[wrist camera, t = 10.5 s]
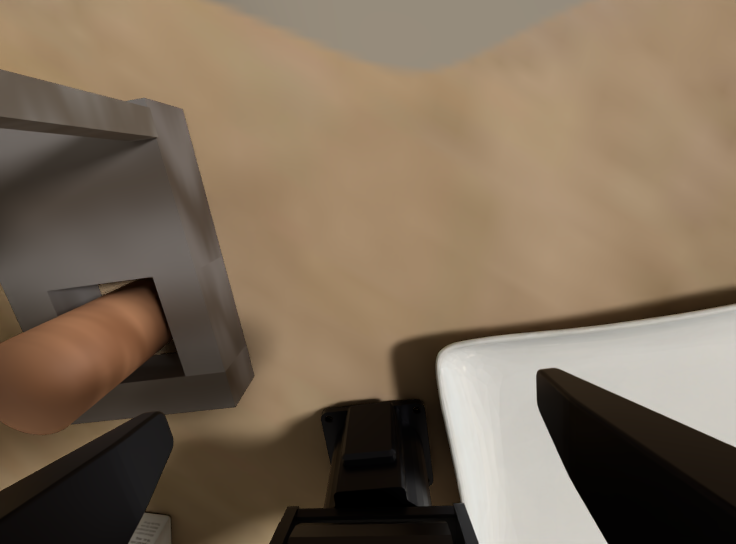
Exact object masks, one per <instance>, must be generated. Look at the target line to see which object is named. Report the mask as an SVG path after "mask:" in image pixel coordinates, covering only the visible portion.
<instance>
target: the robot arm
mask: <svg viewBox="0 0 736 544" xmlns="http://www.w3.org/2000/svg"><path fill="white" fill-rule="evenodd" d="M536 396H537V406H538V409H539V412H540V414H541V417H542V419H543V421H544V423H545V425H546V428H547V430H548V432H549V434H550V436H551V439H552V441H553V443H554V445H555V448H556V450H557V452H558V454H559V456H560V459H561V461H562V463H563V465H564V467H565V470H566V472H567V474H568V476H569V478H570V479H571V481H572V483H573V485H574V487H575V489H576V490H577V492H578V494H579V495H580V497H581V499H582V501H583V502H584V504H585V506H586V507H587V509H588V511H589V513H590V514H591V516H592V518H593V519H594V521H595V523H596V525H597V526H598V528H599V530H600V532H601V533H602V535H603V537H604V538H605V540H606V542H607V544H736V447H734V446H732V445H730V444H727V443H725V442H723V441H721V440H718V439H716V438H714V437H712V436H709V435H707V434H705V433H703V432H700V431H698V430H696V429H694V428H691V427H689V426H687V425H685V424H682V423H680V422H678V421H676V420H673V419H671V418H669V417H667V416H664V415H662V414H660V413H658V412H655V411H653V410H651V409H649V408H646V407H644V406H642V405H640V404H637V403H635V402H633V401H630V400H628V399H626V398H624V397H621V396H619V395H617V394H615V393H612V392H610V391H608V390H606V389H603V388H601V387H599V386H597V385H594V384H592V383H590V382H588V381H585V380H583V379H581V378H579V377H576V376H574V375H572V374H570V373H567V372H565V371H563V370H561V369H558V368H546V369H539V370H538V371H537V374H536ZM414 407H419V409H417V410H415V409H413V408H414ZM326 416H331V417H332V418H328V417H326ZM321 422H322V426H323V431H324V436H325V440H326V445H327V449H328V454H329V458H330V463H331V469H330V475H329V481H328V487H327V493H326V499H325V504H324V508H306V509H299V506H290V507H287V509H286V511H285V513H284V515H283V518H282V520H281V522H279V524H278V526H277V528H276V531H275V533H274V535H273V537H272V539H271V541H270V543H269V544H479V542H478V539H477V537H476V534H475V531H474V529H473V526H472V523H471V520H470V518H469V515H468V512H467V509H466V507H465V504H464V503H453V506H432V504H431V497H430V490H429V486H430V485H432V483H433V473H432V465H431V456H430V448H429V440H428V431H427V423H426V415H425V407H424V404H423V402H422V401H421V400H418V399H414V400H404V401H394V402H381V403H371V404H361V405H352V406H346V407H336V408H328V409H325V410H324V411H323V412H322V416H321ZM172 448H173V436H172V433H171V430H170V428H169V425H168V422H167V419H166V417H165V415H164V413H163V412H161V411H153V412H145V413H142V414H140V415H138V416H137V417H135V418H133V419H131V420H129V421H127V422H126V423H124V424H122V425H120V426H118V427H116V428H115V429H113V430H111V431H109V432H107V433H106V434H104V435H102V436H100V437H98V438H96V439H95V440H93V441H91V442H89V443H87V444H85V445H84V446H82V447H80V448H78V449H76V450H75V451H73V452H71V453H69V454H67V455H65V456H64V457H62V458H60V459H58V460H56V461H55V462H53V463H51V464H49V465H47V466H45V467H44V468H42V469H40V470H38V471H36V472H34V473H33V474H31V475H29V476H27V477H25V478H24V479H22V480H20V481H18V482H16V483H14V484H13V485H11V486H9V487H7V488H5V489H3V490H2V491H0V544H128V543H129V541H130V539H131V538H132V536H133V534H134V532H135V530H136V528H137V526H138V524H139V522H140V520H141V519H142V517H143V515H144V513H145V510H146V508H147V506H148V504H149V502H150V499H151V497H152V495H153V492H154V490H155V488H156V485H157V483H158V481H159V478H160V476H161V474H162V471H163V469H164V467H165V465H166V462H167V460H168V458H169V455H170V453H171V451H172Z"/></svg>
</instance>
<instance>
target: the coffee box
mask: <svg viewBox="0 0 736 544" xmlns="http://www.w3.org/2000/svg"><path fill="white" fill-rule="evenodd" d="M128 544H171V520H170V517H169V516H167V515H160V514H152V513H144V515H143V517H142V519H141V520H140V522H139V524H138V526H137V528H136V530H135V532H134V534H133V536H132V538H131V539H130V541H129V543H128Z"/></svg>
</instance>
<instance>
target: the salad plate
mask: <svg viewBox="0 0 736 544" xmlns="http://www.w3.org/2000/svg"><path fill="white" fill-rule="evenodd" d="M546 368H558V369H561V370H563V371H565V372H567V373H570V374H572V375H574V376H576V377H579V378H581V379H583V380H585V381H588V382H590V383H592V384H594V385H597V386H599V387H601V388H603V389H606V390H608V391H610V392H612V393H615V394H617V395H619V396H621V397H624V398H626V399H628V400H630V401H633V402H635V403H637V404H640V405H642V406H644V407H646V408H649V409H651V410H653V411H655V412H658V413H660V414H662V415H664V416H667V417H669V418H671V419H673V420H676V421H678V422H680V423H682V424H685V425H687V426H689V427H691V428H694V429H696V430H698V431H700V432H703V433H705V434H707V435H709V436H712V437H714V438H716V439H718V440H721V441H723V442H725V443H727V444H730V445H732V446H734V447H736V304H730V305H725V306H720V307H714V308H709V309H703V310H698V311H692V312H686V313H680V314H673V315H667V316H661V317H654V318H647V319H640V320H633V321H626V322H619V323H612V324H606V325H597V326H588V327H579V328H570V329H560V330H548V331H537V332H527V333H517V334H507V335H497V336H489V337H483V338H476V339H470V340H465V341H460V342H454V343H452V344H449V345H447V346H445V347H444V348H443V349H441V351H440V352H439V353H438V355H437V359H436V380H437V386H438V392H439V399H440V405H441V410H442V414H443V418H444V423H445V429H446V433H447V437H448V442H449V446H450V451H451V456H452V461H453V465H454V470H455V475H456V480H457V485H458V490H459V495H460V500H461V503H464V504H465V507H466V509H467V512H468V515H469V518H470V520H471V523H472V526H473V529H474V531H475V534H476V537H477V539H478V542H479V544H607V542H606V540H605V538H604V537H603V535H602V533H601V532H600V530H599V528H598V526H597V525H596V523H595V521H594V519H593V518H592V516H591V514H590V513H589V511H588V509H587V507H586V506H585V504H584V502H583V501H582V499H581V497H580V495H579V494H578V492H577V490H576V489H575V487H574V485H573V483H572V481H571V479H570V478H569V476H568V474H567V472H566V470H565V467H564V465H563V463H562V461H561V459H560V456H559V454H558V452H557V450H556V448H555V445H554V443H553V441H552V439H551V436H550V434H549V432H548V430H547V428H546V425H545V423H544V421H543V419H542V417H541V414H540V412H539V409H538V406H537V396H536V374H537V371H538V370H539V369H546Z"/></svg>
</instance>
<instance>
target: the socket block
mask: <svg viewBox="0 0 736 544" xmlns="http://www.w3.org/2000/svg"><path fill="white" fill-rule="evenodd" d="M147 277H153V280H154V283H155V286H156V289H157V292H158V295H159V298H160V301H161V304H162V307H163V310H164V313H165V316H166V319H167V322H168V325H169V328H170V331H171V334H172V337H173V340H174V343H175V346H176V349H177V352H178V353H170V354H162V355H154V356H152V357H151V358H150V359H148V360H147V361H146V362H145V363H144V364H142V365H141V366H140V367H139V368H138V369H136V370H135V371H134V372H133V373H132V374H130V375H129V376H128V377H127V378H126V379H124V380H123V381H122V382H121V383H120V384H118V385H117V386H116V387H115V388H114V389H112V390H111V391H110V392H109V393H108V394H106V395H105V396H104V397H103V398H102V399H100V400H99V401H98V402H97V403H96V404H94V405H93V406H92V407H91V408H90V409H88V410H87V411H86V412H85V413H84V414H82V415H81V416H80V417H79V418H78V419H76V420H75V421H74V422H73V423H72V424H80V423H89V422H99V421H108V420H118V419H127V418H135V417H137V416H138V415H140V414H142V413H145V412H153V411H161V412H163V413H164V415H165V414H175V413H184V412H194V411H203V410H213V409H223V408H232V407H236V406H237V404H238V402H239V401H240V399H241V397H242V396H243V394H244V392H245V391H246V389H247V388H248V386H249V384H250V383H251V381H252V379H253V378H254V372H253V368H252V365H251V361H250V357H249V354H248V350H247V346H246V343H245V339H244V335H243V331H242V328H241V324H240V320H239V317H238V313H237V309H236V305H235V302H234V298H233V294H232V291H231V287H230V283H229V279H228V276H227V272H226V268H225V265H224V261H223V257H222V253H221V250H220V246H219V242H218V239H217V235H216V231H215V227H214V224H213V220H212V216H211V213H210V209H209V205H208V201H207V198H206V194H205V190H204V187H203V183H202V179H201V175H200V172H199V168H198V164H197V161H196V157H195V153H194V149H193V146H192V142H191V138H190V135H189V131H188V127H187V124H186V120H185V116H184V112H183V109H181V108H178V107H174V106H171V105H167V104H164V103H160V102H157V101H154V100H150V99H147V98H141V99H135V100H130V101H122V100H118V99H114V98H110V97H106V96H102V95H98V94H95V93H91V92H87V91H83V90H79V89H75V88H71V87H67V86H63V85H59V84H56V83H52V82H48V81H44V80H40V79H36V78H32V77H28V76H24V75H20V74H17V73H13V72H9V71H5V70H1V69H0V283H1V285H2V287H3V290H4V292H5V294H6V296H7V298H8V301H9V303H10V305H11V307H12V309H13V311H14V314H15V316H16V318H17V320H18V322H19V324H20V327H21V329H22V331H23V332H25V331H28V330H30V329H32V328H34V327H36V326H38V325H41V324H43V323H45V322H47V321H49V320H51V319H54V318H56V317H58V316H60V315H62V314H64V313H67V312H69V311H71V310H73V309H75V308H77V307H80V306H82V305H84V304H86V303H88V302H90V301H93V300H95V299H97V298H99V297H101V296H102V295H101V292H100V289H99V287H98V284H103V283H110V282H117V281H125V280H132V279H139V278H147Z"/></svg>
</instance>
